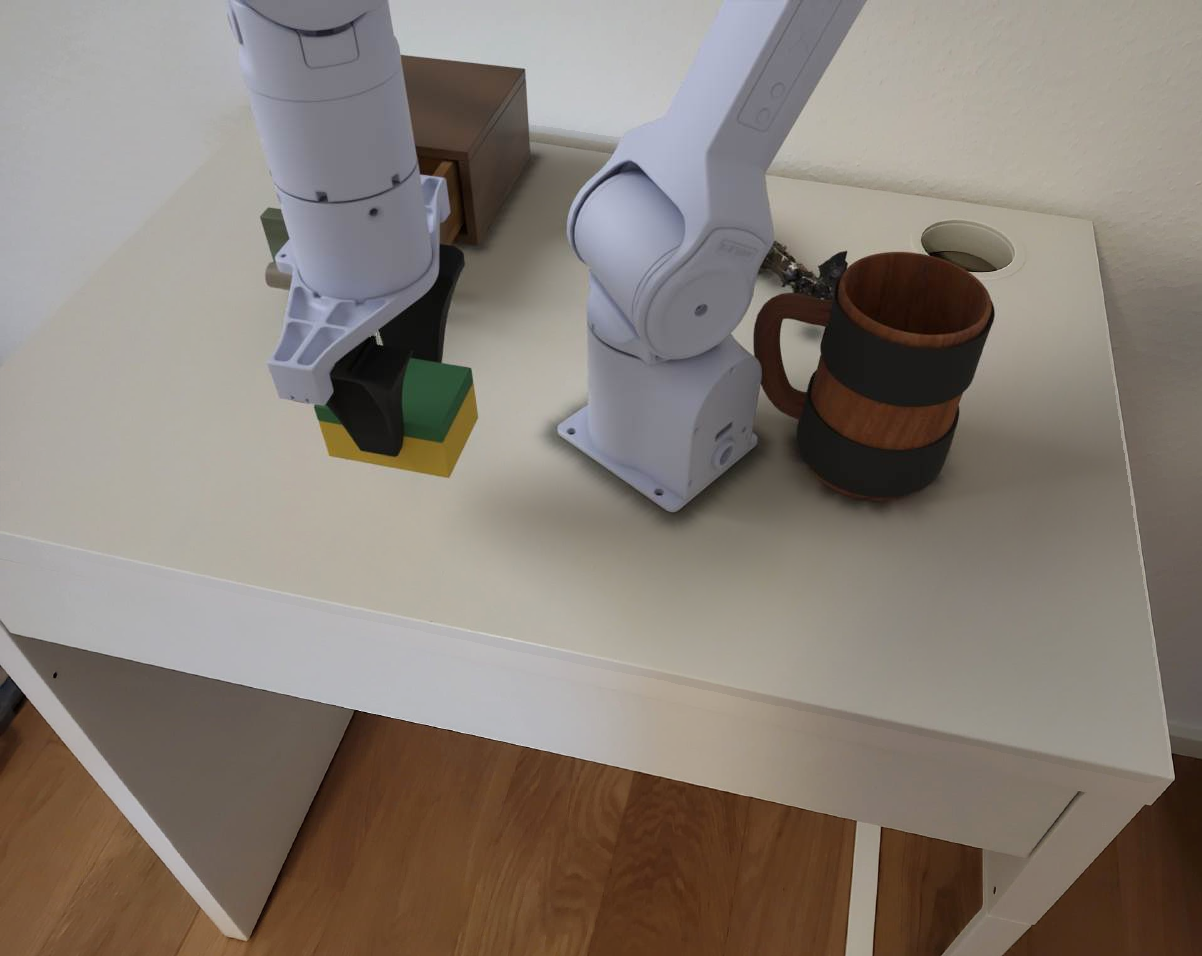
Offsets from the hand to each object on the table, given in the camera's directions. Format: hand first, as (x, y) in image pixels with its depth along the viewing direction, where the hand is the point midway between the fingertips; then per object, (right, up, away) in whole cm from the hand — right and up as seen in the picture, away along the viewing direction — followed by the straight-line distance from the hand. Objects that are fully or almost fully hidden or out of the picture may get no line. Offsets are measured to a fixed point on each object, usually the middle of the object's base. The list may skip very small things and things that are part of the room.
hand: (400, 413), depth 47 cm
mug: (+24, -2, +9) cm, 26 cm away
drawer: (-6, +12, +19) cm, 24 cm away
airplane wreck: (+20, +11, +21) cm, 31 cm away
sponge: (0, -1, +1) cm, 2 cm away
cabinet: (-3, +20, +28) cm, 35 cm away
